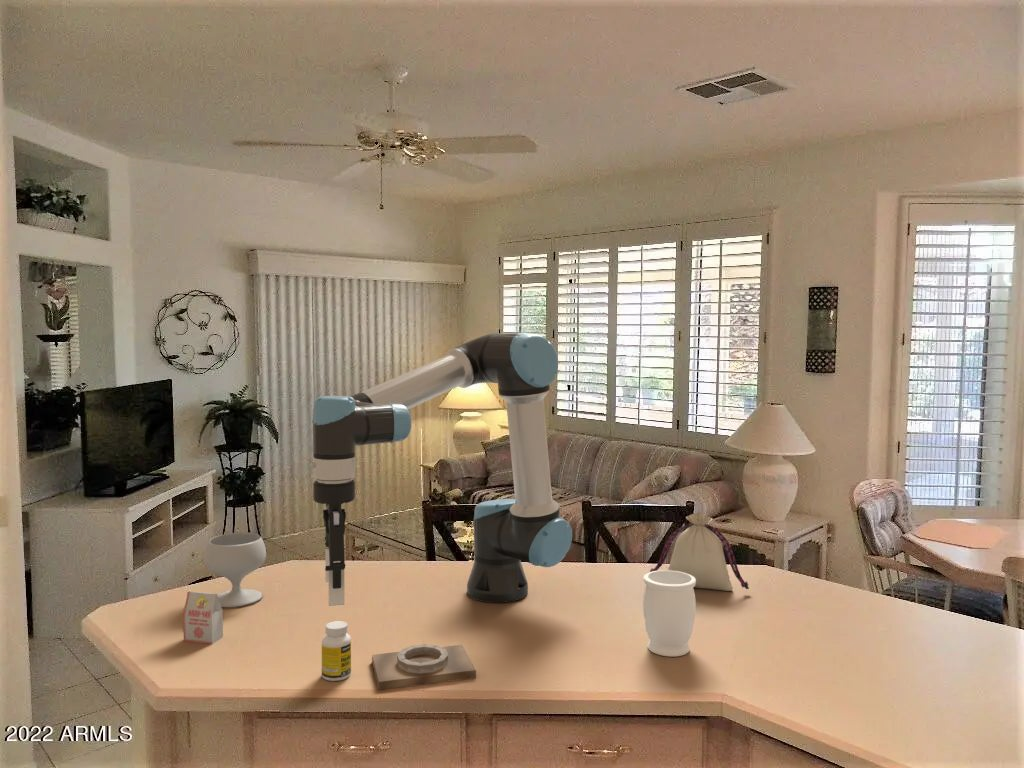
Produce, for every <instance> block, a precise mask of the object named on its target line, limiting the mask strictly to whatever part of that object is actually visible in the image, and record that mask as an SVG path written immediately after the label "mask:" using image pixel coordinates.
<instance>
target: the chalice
mask: <svg viewBox="0 0 1024 768" xmlns="http://www.w3.org/2000/svg"><path fill="white" fill-rule="evenodd" d="M204 551H205V552H204V557H203V561H204V564H205V566H206V568H207V569H208V570H209V572H211V573H213V574H215V575H218V576H221V577H223V578H225V579H227V580H228V581H230V583H231V589H230V590H226V591H222V592H220V593H216V594H217V596H218V600H219V603H220V605H221V608H237V607H243V606H247V605H252V604H254V603H257V602H258V601H260V600H262V598H263V597H264V594H263V593H262V592H261V591H259V590H256V589H252V588H251V589H250V588H242V587H241V583H242V581H243V580H244V578H245V577H246V576H248V575H249V574H251V573H253V572H254V571H256V570H258V569H259V568H261V566H263V564H264V563H265V562H266V558H267V549H266V545H265V542H264V540H263V538H262V537H261V535H260V534H258V533H255V532H243V531H242V532H231V533H224V534H220V535H217V536H214V537H212V538H210V539H209V541H208V543H207V545H206V547H205V550H204Z"/></svg>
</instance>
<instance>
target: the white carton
mask: <svg viewBox="0 0 1024 768" xmlns="http://www.w3.org/2000/svg"><path fill="white" fill-rule="evenodd" d="M217 594H218V593H214V592H213V593H212V592H211V593H210V592H200V591H190V590H189V591H187V594H186V601H185V604H184V608H183V612H182V621H183V622H182V623H183V624H182V625H183V642H187V643H189V642H191V643H197V644H198V643H200V644H207V645H213V644H216V643H217V642H218V641H219V640H221V639H223V638H222V637H224V623H223V621H224V620H223V615H224V614H223V607H221V605H220V603H219V600H218V596H217Z"/></svg>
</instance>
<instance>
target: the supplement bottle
mask: <svg viewBox="0 0 1024 768" xmlns="http://www.w3.org/2000/svg"><path fill="white" fill-rule="evenodd" d="M350 675H352V637H351V635H350V634H348V623H347V622H346V621H342V620H341V621H340V620H336V621H335V620H334V621H331V622H328V623H326V625H325V635H324V636H323V637H322V639H321V677H322V678H323V680H326V681H328V682H339V681H344V680H345V679H348V678H349V677H350Z"/></svg>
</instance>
